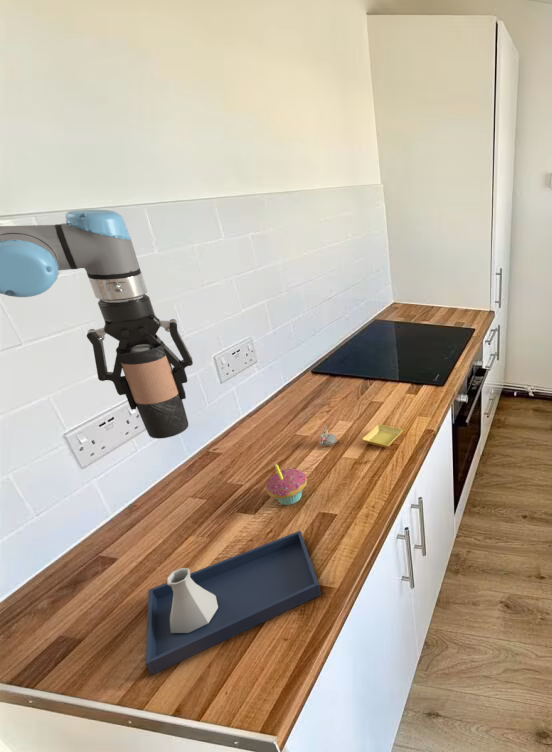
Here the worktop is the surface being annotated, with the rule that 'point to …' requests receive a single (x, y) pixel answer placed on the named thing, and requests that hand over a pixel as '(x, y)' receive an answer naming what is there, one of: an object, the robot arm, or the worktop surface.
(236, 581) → the tray
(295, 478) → the cupcake
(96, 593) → the worktop surface
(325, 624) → the worktop surface
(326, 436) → the figurine
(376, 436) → the saucer
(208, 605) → the flask
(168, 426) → the travel mug
